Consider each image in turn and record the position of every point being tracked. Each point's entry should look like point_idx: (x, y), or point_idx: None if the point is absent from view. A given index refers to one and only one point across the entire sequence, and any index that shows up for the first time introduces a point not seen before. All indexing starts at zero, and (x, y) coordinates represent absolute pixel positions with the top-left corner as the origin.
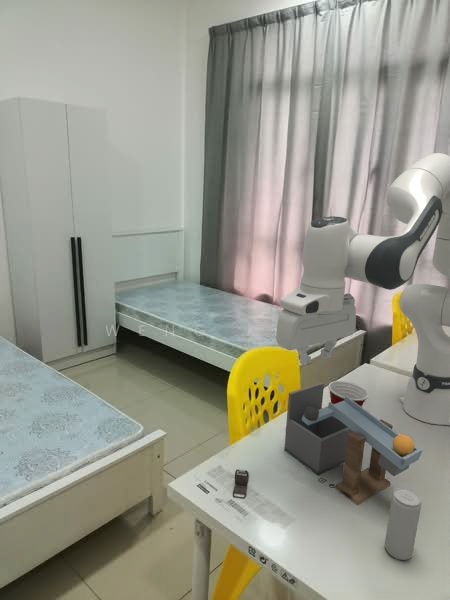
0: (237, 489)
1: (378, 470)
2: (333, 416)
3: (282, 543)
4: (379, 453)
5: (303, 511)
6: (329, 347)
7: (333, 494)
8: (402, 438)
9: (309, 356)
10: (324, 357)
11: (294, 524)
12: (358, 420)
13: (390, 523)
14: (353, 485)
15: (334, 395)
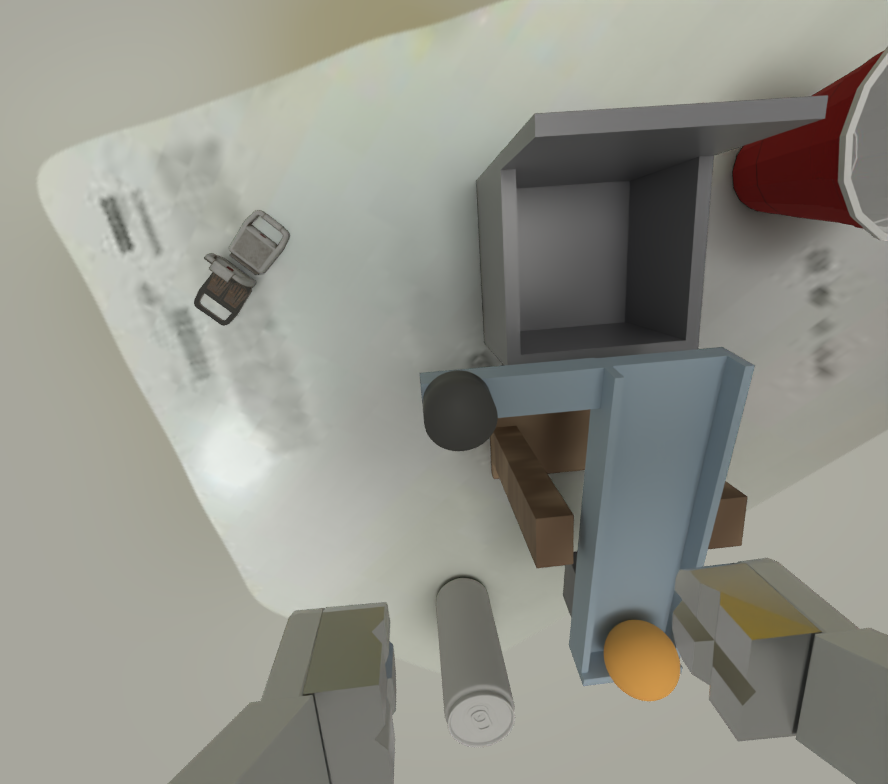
0: (220, 283)
1: None
2: (694, 246)
3: (245, 488)
4: None
5: (352, 433)
6: (874, 757)
7: None
8: (640, 690)
9: (379, 773)
10: (684, 635)
11: (304, 456)
12: (648, 482)
13: (442, 644)
14: (499, 477)
15: (841, 127)
